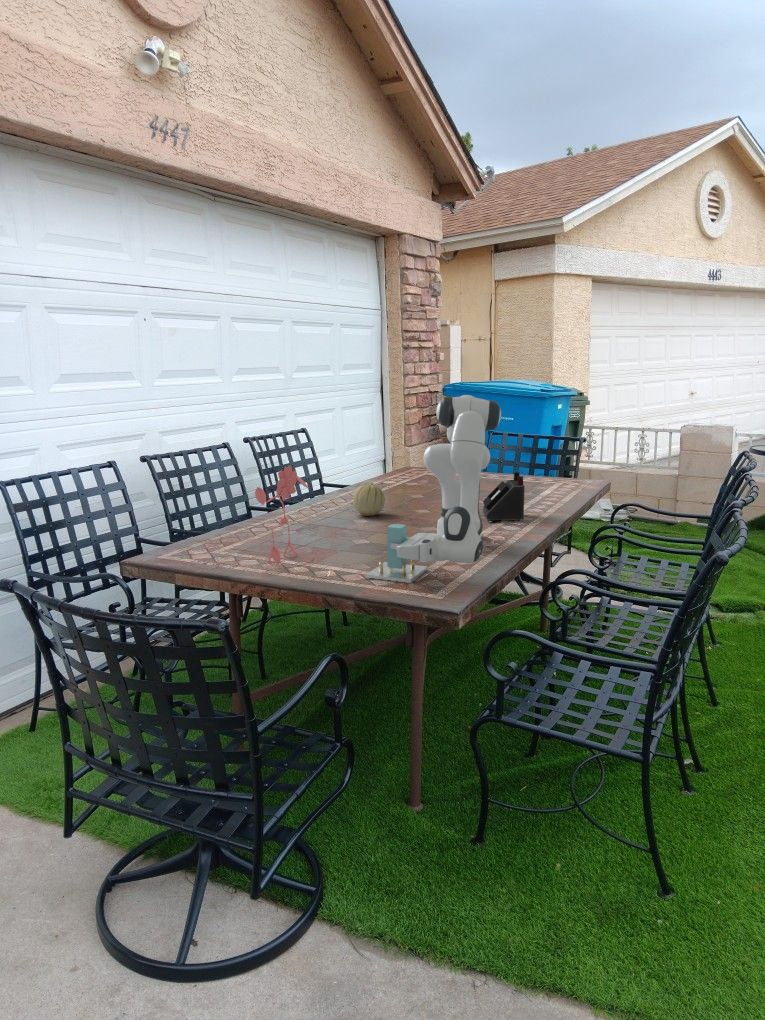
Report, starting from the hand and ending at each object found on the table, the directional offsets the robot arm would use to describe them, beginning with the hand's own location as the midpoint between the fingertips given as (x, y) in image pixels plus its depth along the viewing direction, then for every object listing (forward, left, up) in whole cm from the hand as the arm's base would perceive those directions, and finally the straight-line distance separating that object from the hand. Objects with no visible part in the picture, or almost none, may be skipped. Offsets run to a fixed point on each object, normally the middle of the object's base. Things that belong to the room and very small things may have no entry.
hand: (394, 543), depth 246 cm
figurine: (-1, -41, -11) cm, 43 cm away
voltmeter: (-93, +14, -11) cm, 95 cm away
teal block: (0, +1, -8) cm, 8 cm away
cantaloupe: (-79, -45, -11) cm, 92 cm away
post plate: (0, +1, -11) cm, 11 cm away
